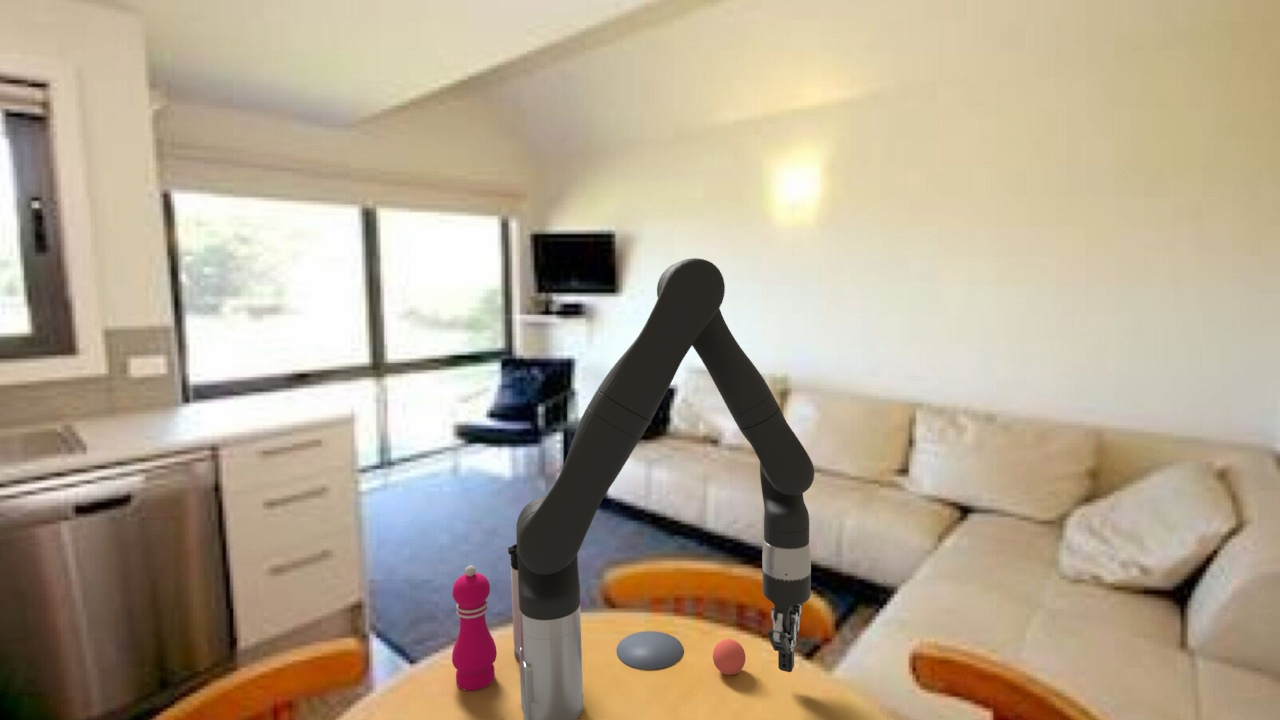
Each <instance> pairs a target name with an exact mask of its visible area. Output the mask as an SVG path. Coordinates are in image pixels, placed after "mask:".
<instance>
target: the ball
mask: <svg viewBox="0 0 1280 720" xmlns="http://www.w3.org/2000/svg"><path fill="white" fill-rule="evenodd" d="M712 660H713V663H714V665H715V666H714V667H716V669H717V670H718V671H719V672H720V673H722V674H724V675H727V676H729V675H730V676H732V675H736V674H738V673H740V672H741V671H742V670H743V668H744V667H745V664H746V652H745V649H744V648H743V645H741V644H740V643H739V642H738V641H736V640H734V639H731V638H725V639H722V640H720V641H719V642H718V643H716V645H715V646H714V649H713V650H712Z"/></svg>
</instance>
